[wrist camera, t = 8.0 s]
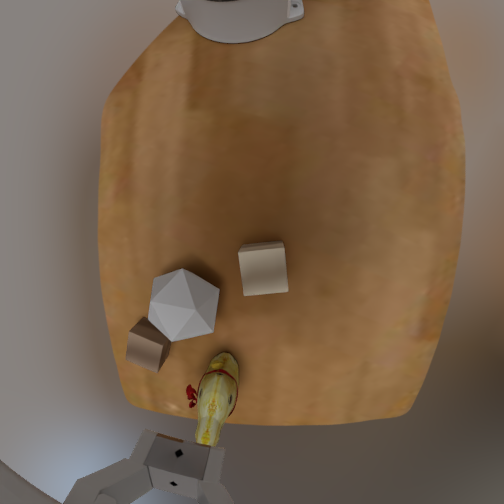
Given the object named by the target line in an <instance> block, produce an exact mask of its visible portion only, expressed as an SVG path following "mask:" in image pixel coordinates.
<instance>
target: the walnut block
mask: <svg viewBox="0 0 504 504" xmlns="http://www.w3.org/2000/svg"><path fill="white" fill-rule="evenodd" d="M170 345H171V341H170V340H169V339H168V338H167V337H166V336H165V335H164V334H163V333H162V332H161V331H160V330H159V329H158V328H156V327H155V326H154V325H153V324H152V323H151V322H150V321H149V320H148V319H147V318H145V317H143V318H142V319H141V320H140V321H139V322H138V323H137V324H136V325H135V326H134V327H133V328H132V329H131V330H130V331H129V336H128V343H127V352H126V360H128V361H130V362H132V363H135V364H137V365H139V366H141V367H144V368H146V369H148V370H151V371H153V372H156V373H158V371H159V370H160V368H161V367H162V365H163V363H164V362H165V360H166V358H167V357H168V354H169V350H170Z"/></svg>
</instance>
